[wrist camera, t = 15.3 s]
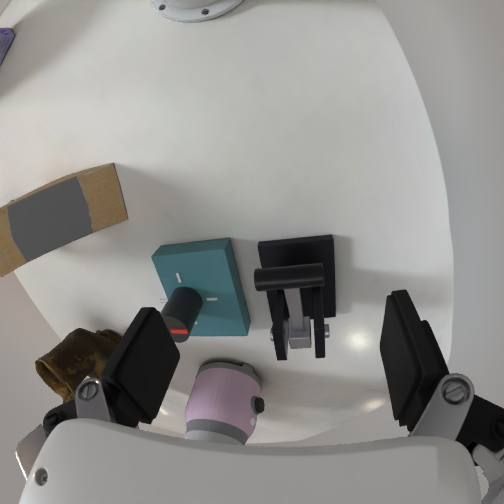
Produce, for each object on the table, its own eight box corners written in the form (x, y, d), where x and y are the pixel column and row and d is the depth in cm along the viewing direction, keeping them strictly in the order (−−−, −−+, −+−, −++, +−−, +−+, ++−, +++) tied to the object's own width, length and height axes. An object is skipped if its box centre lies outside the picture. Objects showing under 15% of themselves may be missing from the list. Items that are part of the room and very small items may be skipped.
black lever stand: (258, 241, 35) (242, 301, 25) (332, 234, 33) (346, 293, 23) (272, 315, 40) (264, 381, 30) (334, 311, 38) (342, 377, 28)
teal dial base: (152, 246, 37) (142, 258, 35) (229, 237, 35) (224, 249, 32) (182, 323, 44) (176, 336, 41) (250, 322, 41) (247, 336, 39)
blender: (214, 395, 53) (175, 531, 26) (187, 359, 48) (128, 517, 21) (287, 390, 49) (269, 548, 21) (269, 351, 44) (237, 546, 16)
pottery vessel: (166, 386, 55) (136, 461, 38) (131, 384, 58) (99, 450, 41) (101, 299, 45) (40, 380, 27) (69, 305, 47) (14, 373, 30)
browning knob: (178, 312, 38) (162, 343, 33) (167, 287, 37) (148, 317, 31) (206, 312, 38) (193, 345, 32) (197, 285, 36) (181, 317, 30)
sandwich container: (129, 220, 36) (61, 281, 23) (61, 230, 39) (0, 279, 26) (114, 160, 32) (30, 200, 19) (46, 182, 35) (-23, 221, 22)
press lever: (254, 260, 21) (252, 287, 20) (321, 254, 20) (324, 281, 19) (278, 329, 30) (277, 349, 29) (323, 326, 29) (324, 346, 28)
